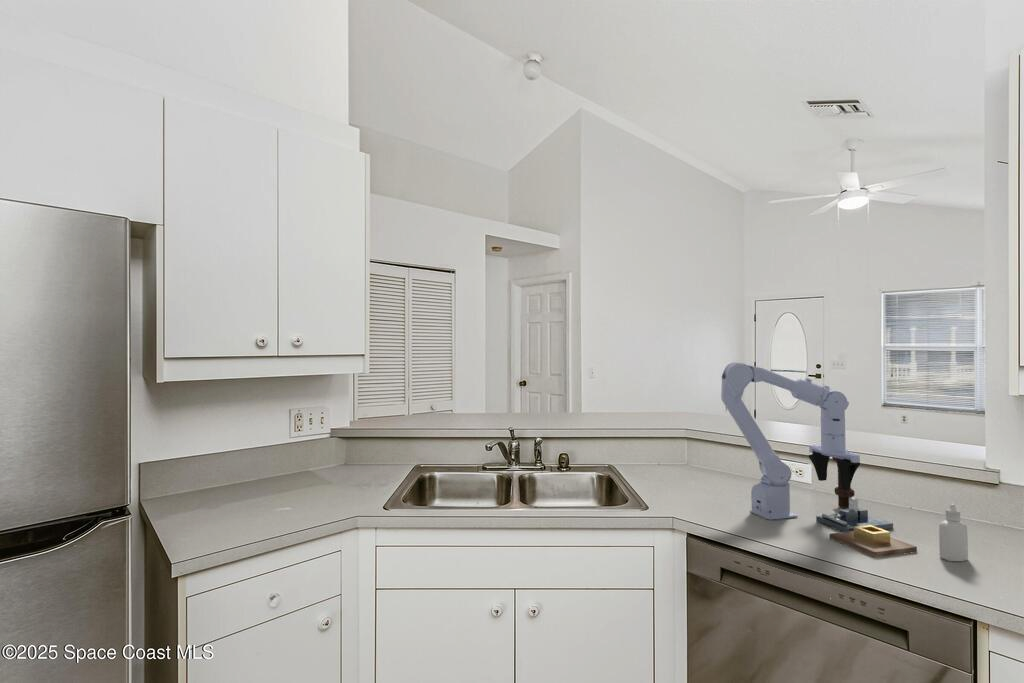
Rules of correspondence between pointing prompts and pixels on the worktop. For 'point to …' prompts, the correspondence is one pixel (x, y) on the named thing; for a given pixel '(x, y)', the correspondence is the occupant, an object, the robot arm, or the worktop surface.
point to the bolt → (842, 490)
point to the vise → (852, 518)
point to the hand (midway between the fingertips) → (833, 483)
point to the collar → (872, 534)
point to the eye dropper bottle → (953, 536)
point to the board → (873, 550)
